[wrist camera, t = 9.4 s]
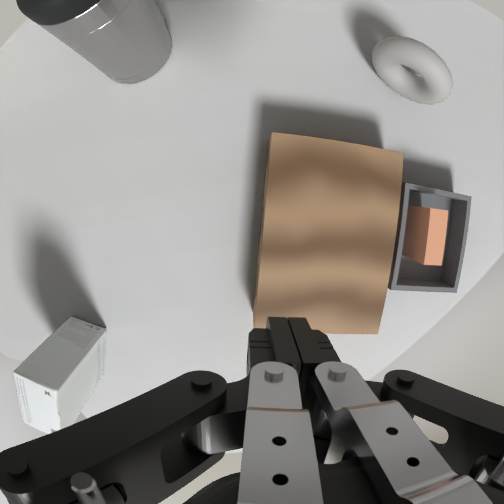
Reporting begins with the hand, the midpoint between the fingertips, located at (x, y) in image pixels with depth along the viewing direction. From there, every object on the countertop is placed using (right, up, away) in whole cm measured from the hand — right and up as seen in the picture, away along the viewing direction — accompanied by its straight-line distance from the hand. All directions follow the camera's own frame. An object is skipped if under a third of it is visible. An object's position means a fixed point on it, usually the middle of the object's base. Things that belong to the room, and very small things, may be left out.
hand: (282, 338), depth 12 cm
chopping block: (+7, +5, +24) cm, 26 cm away
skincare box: (-24, -10, +27) cm, 37 cm away
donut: (+16, +24, +21) cm, 36 cm away
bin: (+20, +5, +24) cm, 32 cm away
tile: (+17, +6, +21) cm, 27 cm away
